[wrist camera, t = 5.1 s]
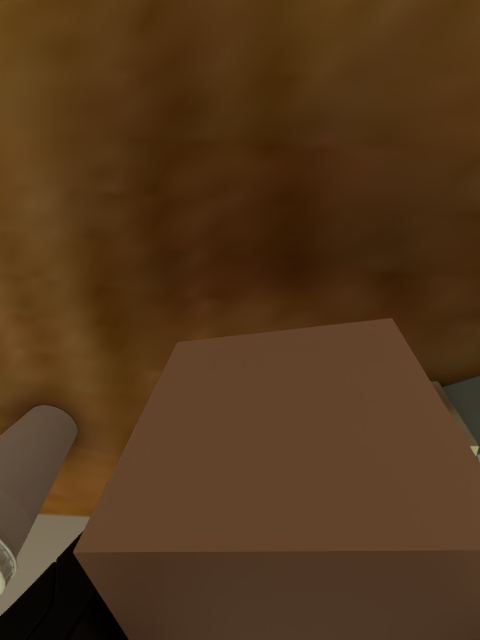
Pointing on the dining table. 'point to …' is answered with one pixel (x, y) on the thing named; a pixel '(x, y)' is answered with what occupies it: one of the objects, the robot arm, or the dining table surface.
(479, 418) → the slate block
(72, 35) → the dining table surface
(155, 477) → the terracotta block
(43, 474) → the smoothie
